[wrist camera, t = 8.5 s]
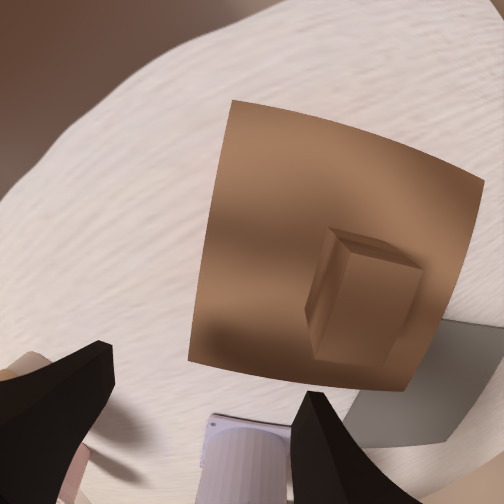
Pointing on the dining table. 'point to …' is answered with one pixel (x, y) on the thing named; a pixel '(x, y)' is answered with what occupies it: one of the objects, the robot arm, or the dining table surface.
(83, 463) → the smoothie
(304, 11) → the dining table surface
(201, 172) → the dining table surface
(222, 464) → the robot arm
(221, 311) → the lid
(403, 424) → the mat
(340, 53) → the dining table surface
